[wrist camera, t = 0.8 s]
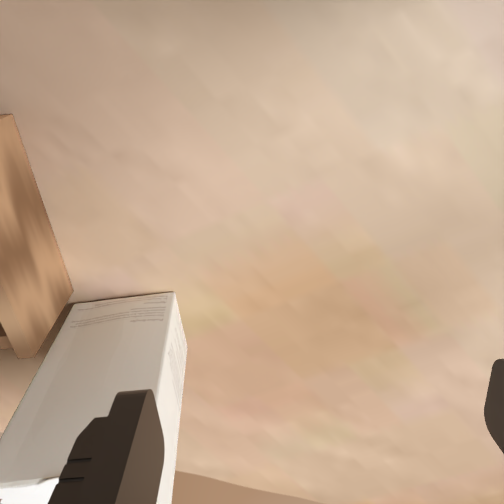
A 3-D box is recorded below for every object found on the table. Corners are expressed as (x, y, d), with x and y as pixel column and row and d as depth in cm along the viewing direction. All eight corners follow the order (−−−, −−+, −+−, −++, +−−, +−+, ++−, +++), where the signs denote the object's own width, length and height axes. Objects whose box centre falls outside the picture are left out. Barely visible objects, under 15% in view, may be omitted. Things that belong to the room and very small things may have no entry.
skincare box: (95, 355, 34) (10, 558, 21) (72, 297, 31) (-42, 493, 18) (193, 344, 34) (169, 543, 21) (180, 286, 31) (143, 475, 18)
